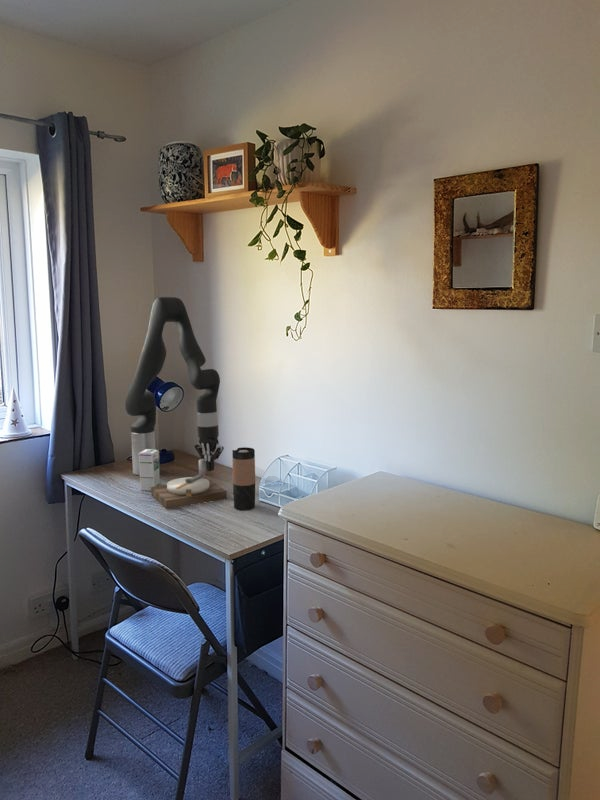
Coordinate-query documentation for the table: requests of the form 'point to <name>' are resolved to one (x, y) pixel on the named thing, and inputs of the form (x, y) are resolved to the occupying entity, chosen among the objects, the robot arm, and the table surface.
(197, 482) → the dial
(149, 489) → the syrup box
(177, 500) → the dial stand
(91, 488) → the table surface
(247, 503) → the travel mug
